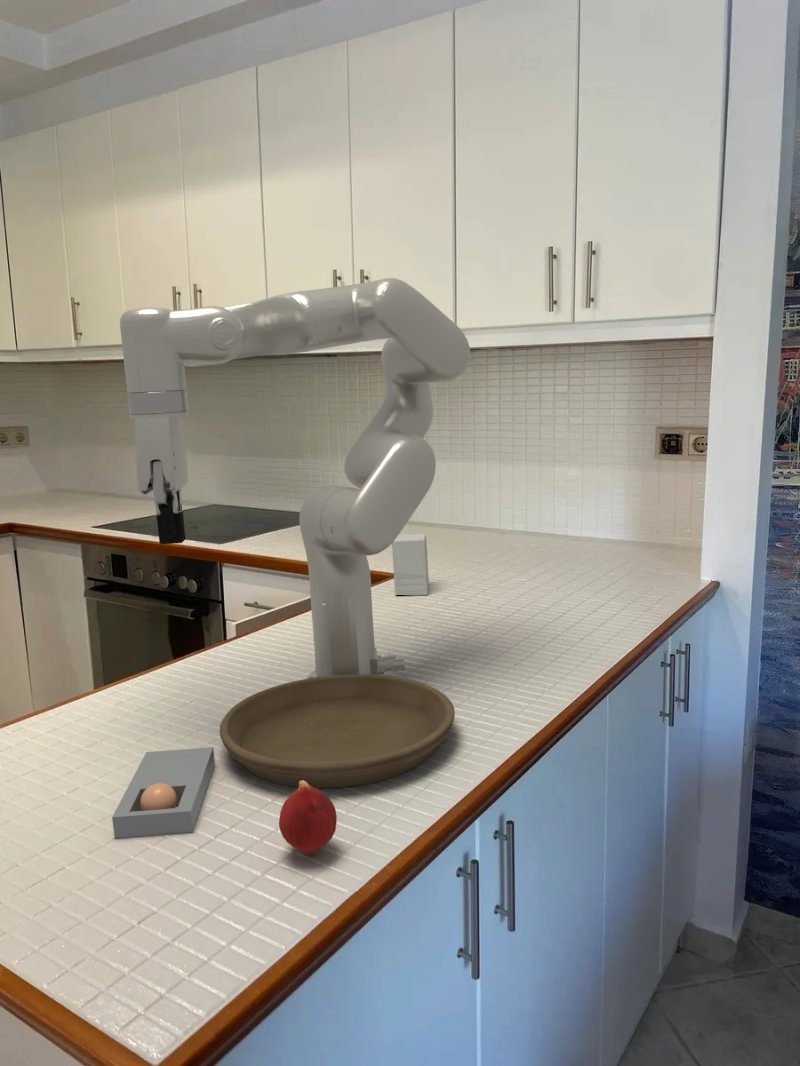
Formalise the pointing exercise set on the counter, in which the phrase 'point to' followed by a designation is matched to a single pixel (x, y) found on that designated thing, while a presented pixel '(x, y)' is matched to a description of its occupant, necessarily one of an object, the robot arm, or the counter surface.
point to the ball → (158, 797)
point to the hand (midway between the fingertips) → (172, 542)
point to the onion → (307, 819)
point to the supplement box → (410, 564)
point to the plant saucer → (337, 729)
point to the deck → (180, 772)
